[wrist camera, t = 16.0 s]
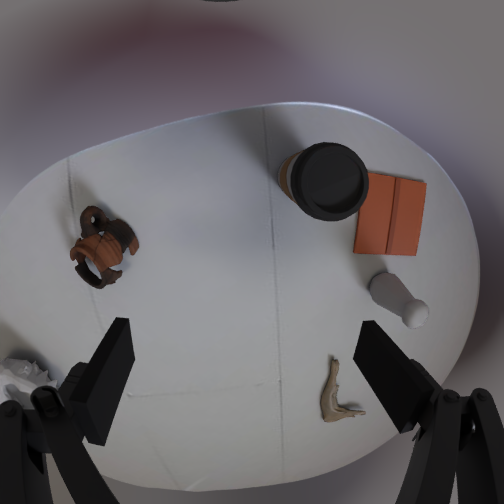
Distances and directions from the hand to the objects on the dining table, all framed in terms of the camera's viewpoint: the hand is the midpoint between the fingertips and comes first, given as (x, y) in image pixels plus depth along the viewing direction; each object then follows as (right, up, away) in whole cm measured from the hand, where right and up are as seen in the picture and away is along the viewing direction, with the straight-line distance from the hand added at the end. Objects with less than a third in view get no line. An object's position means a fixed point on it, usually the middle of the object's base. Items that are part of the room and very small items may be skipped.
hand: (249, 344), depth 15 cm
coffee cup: (+7, +16, +26) cm, 31 cm away
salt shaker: (+22, -1, +33) cm, 40 cm away
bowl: (-48, -24, +32) cm, 63 cm away
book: (+23, +11, +29) cm, 39 cm away
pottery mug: (-22, +7, +26) cm, 35 cm away
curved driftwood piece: (+20, -24, +39) cm, 50 cm away
